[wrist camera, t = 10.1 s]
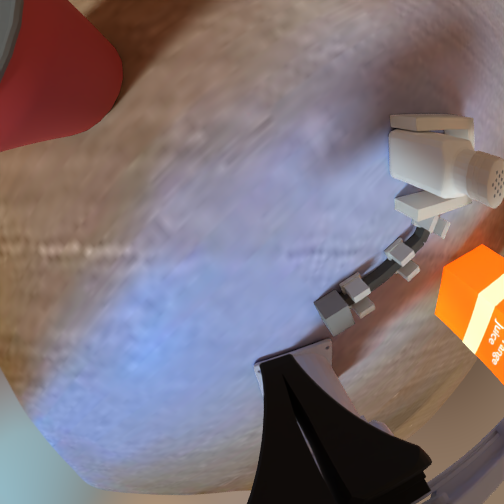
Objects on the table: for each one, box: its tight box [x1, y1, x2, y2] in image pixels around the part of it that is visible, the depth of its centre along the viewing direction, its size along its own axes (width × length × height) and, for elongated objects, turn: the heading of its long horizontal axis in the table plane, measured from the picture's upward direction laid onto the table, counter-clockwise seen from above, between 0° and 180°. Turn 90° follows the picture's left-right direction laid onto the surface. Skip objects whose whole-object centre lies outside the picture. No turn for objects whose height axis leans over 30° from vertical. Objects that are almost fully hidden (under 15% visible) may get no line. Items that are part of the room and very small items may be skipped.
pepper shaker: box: [389, 129, 504, 209], centre depth 15 cm, size 4×4×10 cm
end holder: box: [390, 114, 474, 222], centre depth 19 cm, size 8×8×3 cm
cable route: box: [314, 227, 430, 337], centre depth 23 cm, size 3×16×2 cm, turn 129°
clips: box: [339, 215, 451, 318], centre depth 23 cm, size 4×13×2 cm, turn 132°
